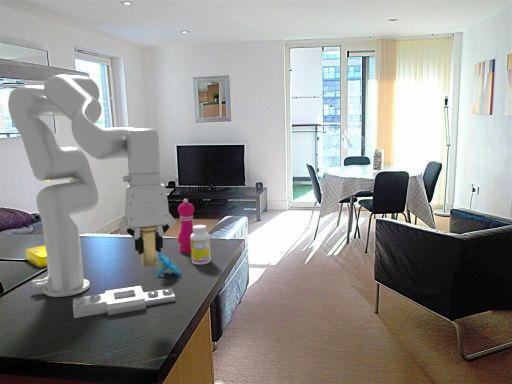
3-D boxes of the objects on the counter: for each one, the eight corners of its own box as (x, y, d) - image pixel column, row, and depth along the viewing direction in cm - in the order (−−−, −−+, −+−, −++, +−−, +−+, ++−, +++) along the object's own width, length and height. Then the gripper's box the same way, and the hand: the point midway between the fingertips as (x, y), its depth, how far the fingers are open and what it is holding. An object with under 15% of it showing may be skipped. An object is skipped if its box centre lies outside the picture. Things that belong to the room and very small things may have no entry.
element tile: (24, 260, 166) (23, 248, 165) (65, 251, 176) (64, 239, 176) (39, 269, 155) (38, 256, 155) (82, 259, 166) (81, 246, 165)
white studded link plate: (73, 321, 114) (72, 307, 113) (74, 306, 123) (73, 293, 122) (176, 303, 123) (175, 290, 122) (170, 291, 132) (169, 279, 131)
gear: (184, 275, 142) (160, 255, 139) (171, 289, 141) (147, 270, 138) (179, 264, 152) (157, 246, 149) (167, 278, 152) (144, 259, 148)
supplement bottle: (194, 258, 161) (193, 223, 159) (212, 259, 160) (211, 224, 158) (189, 265, 155) (187, 228, 153) (208, 265, 154) (206, 228, 152)
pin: (141, 268, 111) (139, 228, 109) (139, 262, 115) (136, 224, 114) (161, 265, 113) (159, 226, 111) (158, 260, 117) (156, 222, 115)
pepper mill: (199, 251, 170) (197, 199, 167) (180, 254, 167) (177, 201, 164) (195, 246, 177) (192, 196, 173) (176, 249, 174) (173, 197, 171)
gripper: (110, 184, 104) (115, 260, 107) (182, 179, 110) (185, 252, 113) (108, 180, 111) (113, 252, 114) (176, 175, 117) (179, 244, 120)
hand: (149, 251), depth 113 cm, fingers closed on pin, 4 cm apart
